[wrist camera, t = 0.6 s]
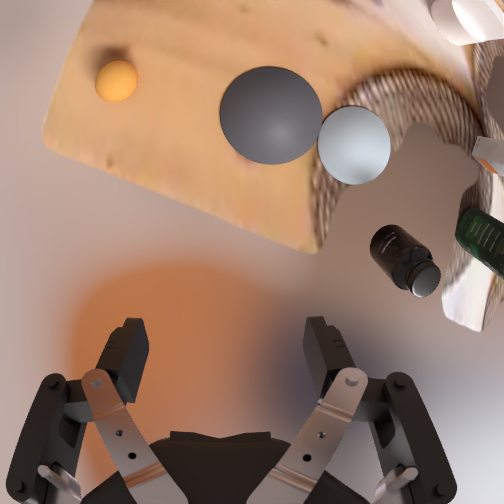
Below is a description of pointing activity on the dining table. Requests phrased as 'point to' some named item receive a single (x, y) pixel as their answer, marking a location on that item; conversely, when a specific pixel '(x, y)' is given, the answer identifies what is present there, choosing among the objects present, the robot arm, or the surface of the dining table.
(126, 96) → the ball
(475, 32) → the cylinder with rectangular tab
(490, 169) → the skincare box
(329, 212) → the dining table surface
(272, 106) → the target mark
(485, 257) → the coffee jar
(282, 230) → the dining table surface
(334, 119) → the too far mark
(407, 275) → the supplement bottle
